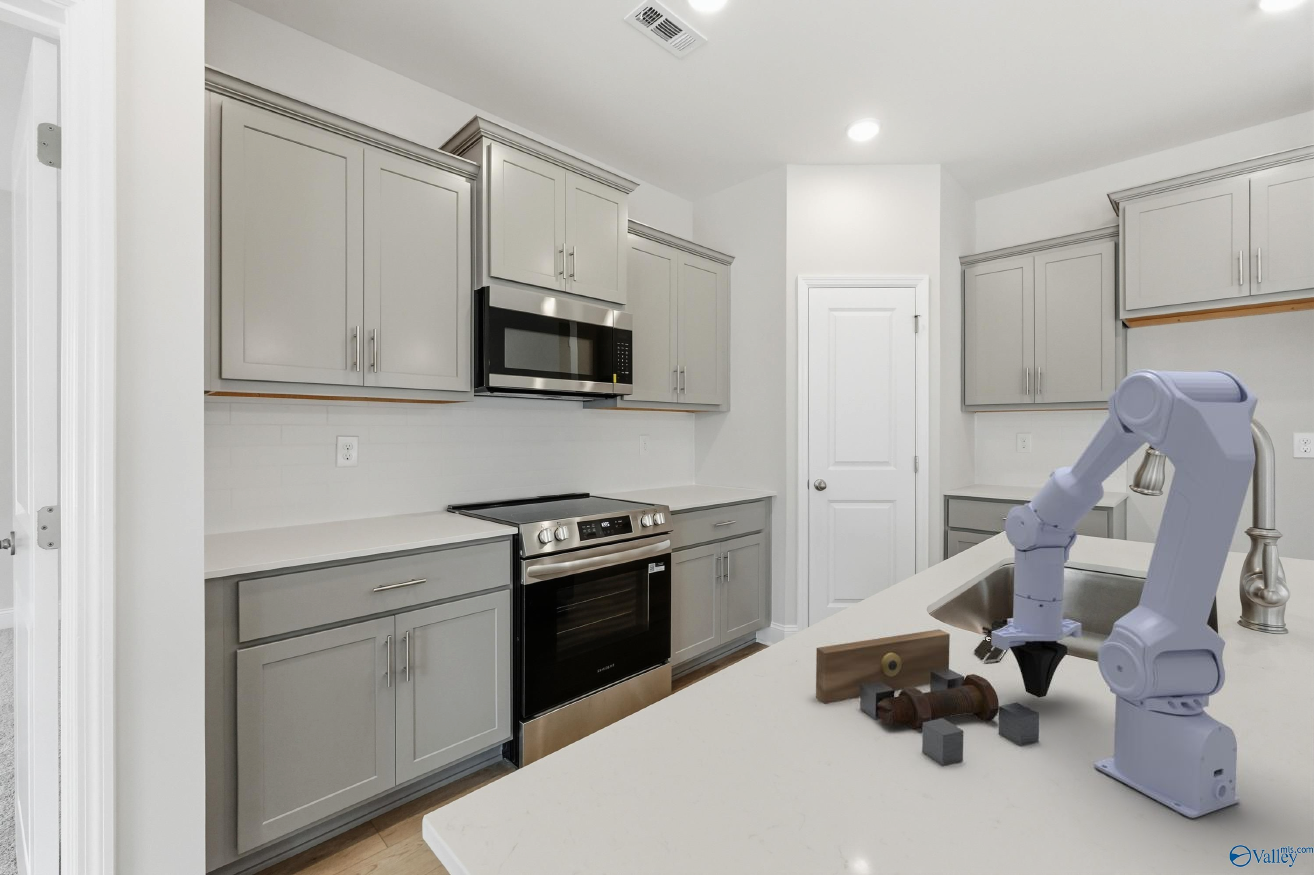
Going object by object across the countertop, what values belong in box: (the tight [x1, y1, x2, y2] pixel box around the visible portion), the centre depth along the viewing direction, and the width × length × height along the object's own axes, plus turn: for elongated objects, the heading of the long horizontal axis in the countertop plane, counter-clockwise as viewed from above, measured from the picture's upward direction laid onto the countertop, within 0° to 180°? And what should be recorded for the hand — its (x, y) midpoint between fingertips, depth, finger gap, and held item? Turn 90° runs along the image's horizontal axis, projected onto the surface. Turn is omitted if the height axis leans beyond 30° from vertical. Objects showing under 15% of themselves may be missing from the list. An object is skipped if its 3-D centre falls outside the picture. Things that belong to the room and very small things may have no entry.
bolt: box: [877, 673, 1000, 730], centre depth 78 cm, size 6×5×15 cm
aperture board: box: [815, 629, 951, 705], centre depth 87 cm, size 3×22×7 cm, turn 110°
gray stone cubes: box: [859, 668, 1040, 767], centre depth 77 cm, size 14×15×4 cm
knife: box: [973, 617, 1010, 664], centre depth 106 cm, size 25×6×1 cm, turn 135°
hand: (1035, 694), depth 83 cm, fingers closed
